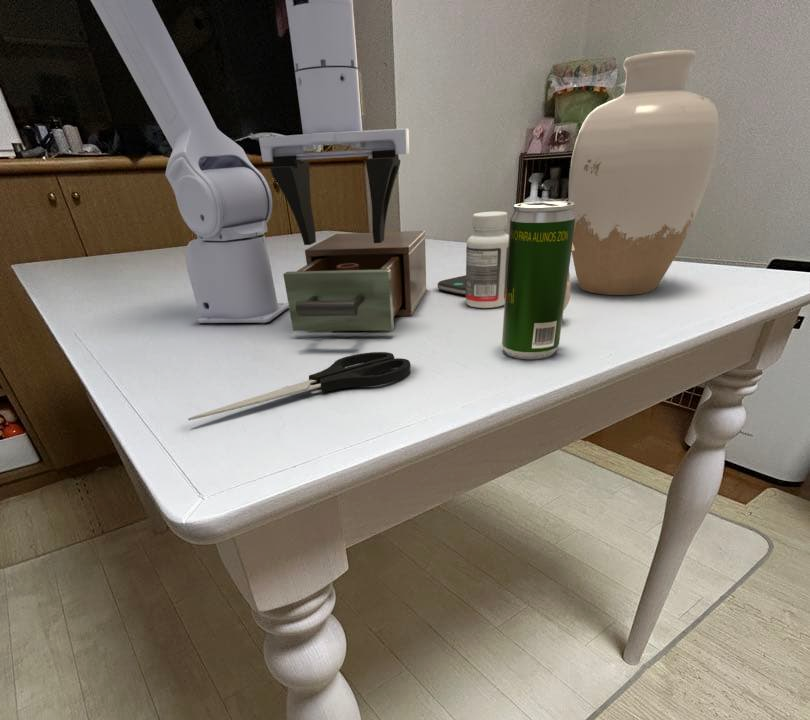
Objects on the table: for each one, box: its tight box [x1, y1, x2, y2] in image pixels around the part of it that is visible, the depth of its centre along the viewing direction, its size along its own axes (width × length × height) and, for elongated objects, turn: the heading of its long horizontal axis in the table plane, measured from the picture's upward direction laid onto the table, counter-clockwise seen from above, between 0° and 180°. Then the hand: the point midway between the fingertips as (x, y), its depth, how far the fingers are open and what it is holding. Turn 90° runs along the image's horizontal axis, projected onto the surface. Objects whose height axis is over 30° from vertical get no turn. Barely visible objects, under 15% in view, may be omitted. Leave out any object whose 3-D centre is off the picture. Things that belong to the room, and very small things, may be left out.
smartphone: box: [437, 274, 466, 296], centre depth 73 cm, size 8×1×15 cm
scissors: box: [187, 351, 412, 421], centre depth 43 cm, size 7×1×20 cm
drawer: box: [282, 254, 405, 332], centre depth 57 cm, size 17×11×6 cm, turn 170°
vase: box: [567, 49, 720, 296], centre depth 62 cm, size 16×16×23 cm
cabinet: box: [304, 230, 427, 317], centre depth 66 cm, size 13×12×7 cm
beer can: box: [501, 200, 576, 360], centre depth 46 cm, size 5×5×12 cm
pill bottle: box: [465, 211, 509, 309], centre depth 62 cm, size 5×5×10 cm
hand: (344, 242), depth 55 cm, fingers open, 7 cm apart
